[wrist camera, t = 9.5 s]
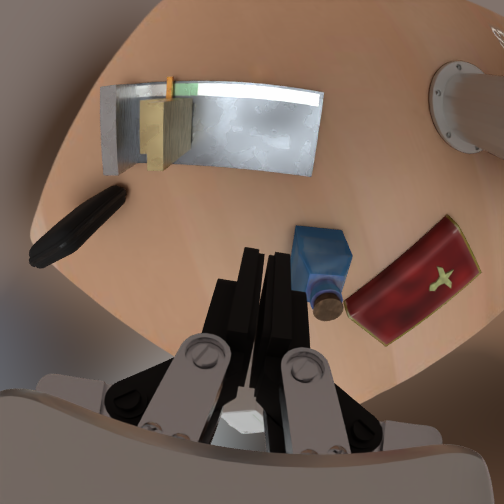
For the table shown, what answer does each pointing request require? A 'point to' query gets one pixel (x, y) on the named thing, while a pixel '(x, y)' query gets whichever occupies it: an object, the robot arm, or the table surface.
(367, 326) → the hardcover book
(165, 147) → the gauge carriage
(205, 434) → the robot arm
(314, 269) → the perfume bottle
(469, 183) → the table surface
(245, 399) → the skincare box
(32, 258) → the carrying case or bag
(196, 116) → the gauge base
